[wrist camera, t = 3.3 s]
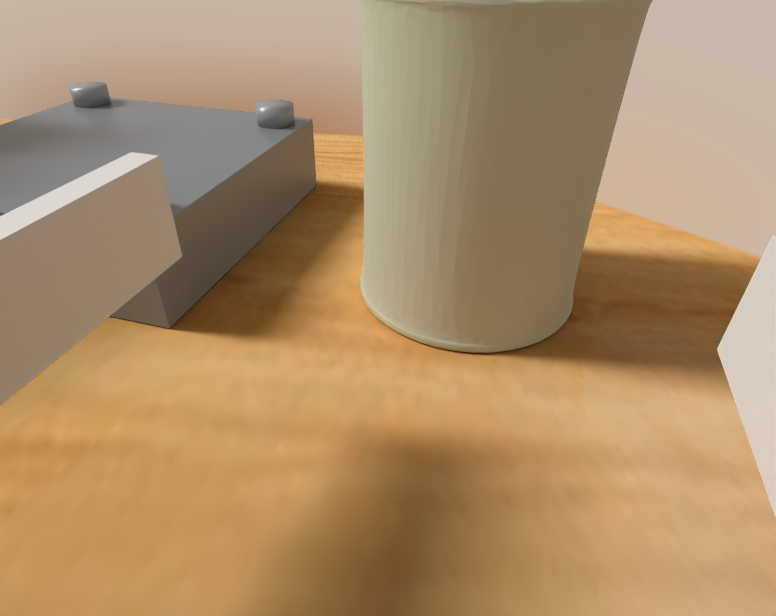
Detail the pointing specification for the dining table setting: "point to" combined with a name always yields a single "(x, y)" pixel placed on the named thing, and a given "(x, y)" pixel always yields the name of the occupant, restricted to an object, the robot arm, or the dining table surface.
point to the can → (485, 160)
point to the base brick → (171, 176)
